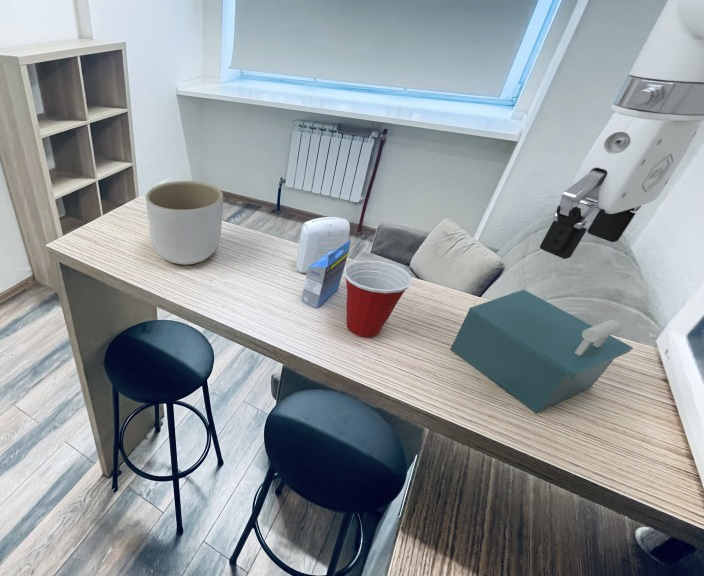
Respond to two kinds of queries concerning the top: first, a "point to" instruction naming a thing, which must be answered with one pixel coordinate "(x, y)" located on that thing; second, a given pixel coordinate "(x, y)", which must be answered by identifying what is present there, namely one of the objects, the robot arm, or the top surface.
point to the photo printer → (320, 240)
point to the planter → (185, 220)
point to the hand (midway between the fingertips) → (578, 245)
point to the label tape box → (325, 276)
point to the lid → (553, 332)
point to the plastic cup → (372, 294)
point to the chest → (518, 366)
